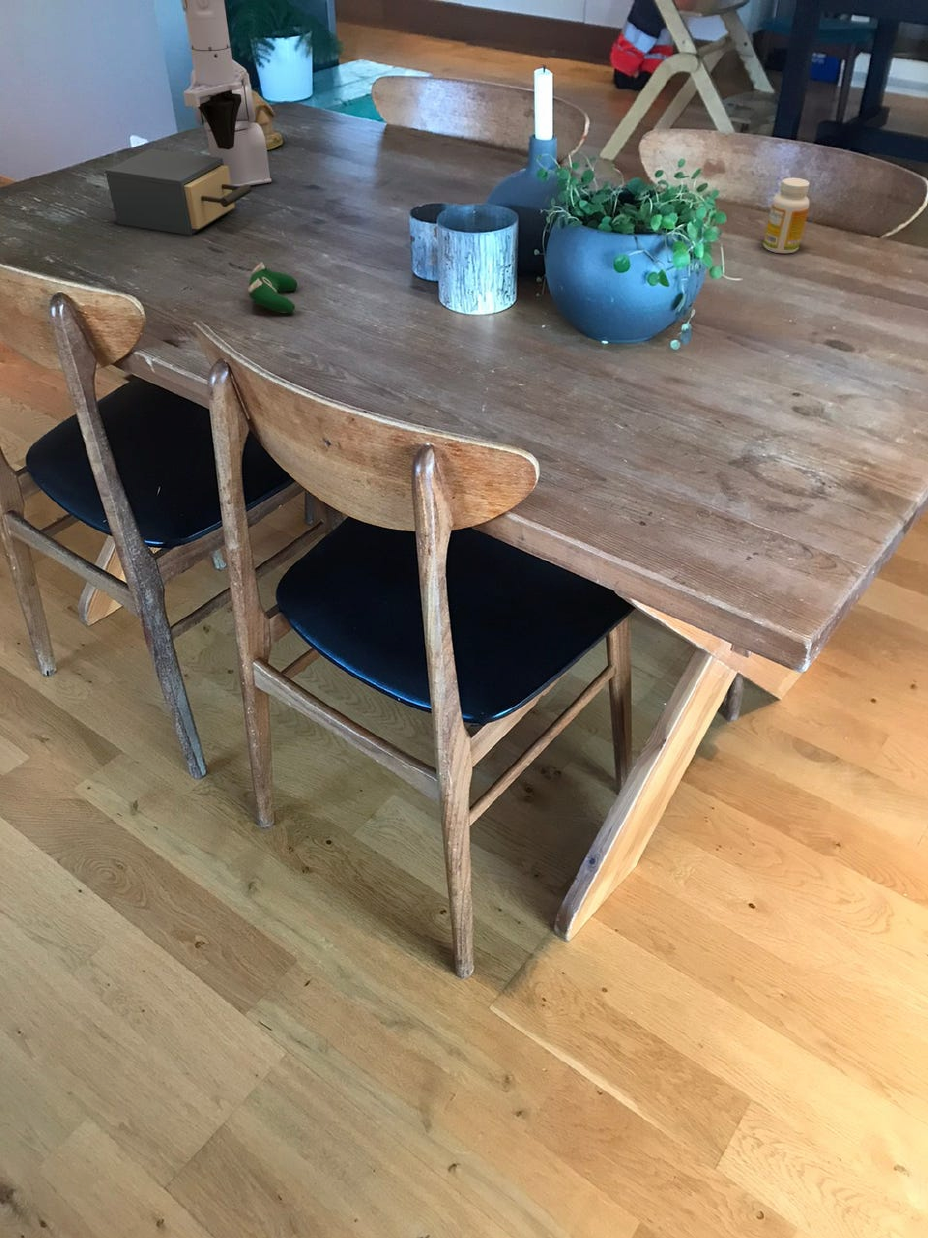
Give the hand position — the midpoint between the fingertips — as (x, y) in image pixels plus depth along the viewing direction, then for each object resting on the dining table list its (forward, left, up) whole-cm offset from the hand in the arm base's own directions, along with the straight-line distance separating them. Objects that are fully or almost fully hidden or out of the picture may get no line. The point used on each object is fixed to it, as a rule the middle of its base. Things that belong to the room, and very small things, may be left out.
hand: (225, 147), depth 144 cm
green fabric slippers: (+6, +34, -11) cm, 36 cm away
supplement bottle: (-70, +52, -11) cm, 88 cm away
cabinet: (+9, -4, -10) cm, 14 cm away
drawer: (+6, -1, -10) cm, 11 cm away
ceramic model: (-17, -38, -11) cm, 43 cm away
